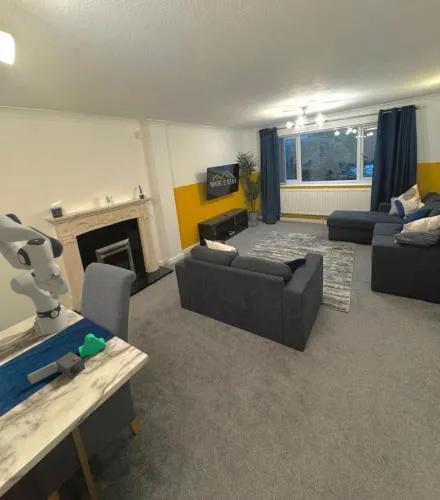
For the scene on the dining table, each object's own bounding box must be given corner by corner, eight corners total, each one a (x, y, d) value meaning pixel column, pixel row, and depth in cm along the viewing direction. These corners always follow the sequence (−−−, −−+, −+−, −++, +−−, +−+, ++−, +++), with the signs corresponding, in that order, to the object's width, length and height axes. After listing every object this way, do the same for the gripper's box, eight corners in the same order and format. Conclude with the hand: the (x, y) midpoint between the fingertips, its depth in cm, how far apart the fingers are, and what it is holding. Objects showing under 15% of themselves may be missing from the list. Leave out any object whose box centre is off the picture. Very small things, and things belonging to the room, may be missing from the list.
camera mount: (103, 341, 142) (99, 325, 138) (106, 348, 136) (102, 332, 132) (79, 351, 135) (74, 335, 132) (81, 359, 129) (76, 342, 126)
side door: (57, 368, 123) (54, 360, 122) (58, 370, 122) (55, 362, 121) (30, 383, 116) (26, 374, 115) (30, 384, 115) (27, 376, 114)
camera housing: (59, 371, 123) (55, 360, 121) (74, 361, 128) (70, 350, 126) (72, 380, 117) (67, 368, 115) (86, 369, 123) (82, 358, 120)
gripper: (67, 272, 118) (75, 299, 123) (42, 267, 128) (50, 292, 133) (53, 278, 113) (63, 306, 118) (28, 272, 123) (37, 298, 127)
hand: (56, 298), depth 125 cm, fingers closed
